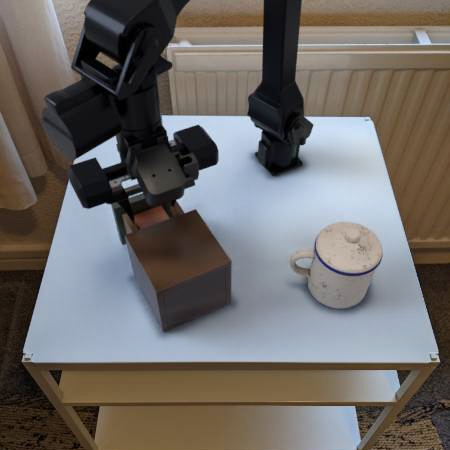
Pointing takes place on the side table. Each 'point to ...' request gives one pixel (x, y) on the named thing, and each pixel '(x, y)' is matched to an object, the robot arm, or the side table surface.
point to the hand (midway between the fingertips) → (152, 211)
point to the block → (150, 217)
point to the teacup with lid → (340, 264)
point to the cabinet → (180, 269)
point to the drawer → (137, 211)
